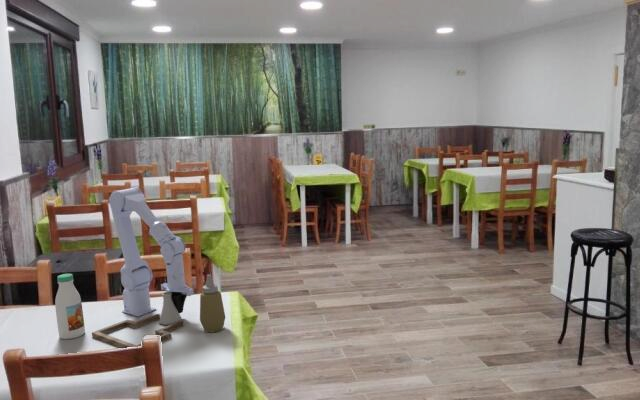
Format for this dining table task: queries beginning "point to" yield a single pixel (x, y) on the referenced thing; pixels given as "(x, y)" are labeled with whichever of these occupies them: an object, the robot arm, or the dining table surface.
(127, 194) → the robot arm
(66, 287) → the milk bottle
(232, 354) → the dining table surface
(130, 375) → the dining table surface
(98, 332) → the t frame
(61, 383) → the dining table surface
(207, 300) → the squeeze bottle
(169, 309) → the flask
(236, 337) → the dining table surface
